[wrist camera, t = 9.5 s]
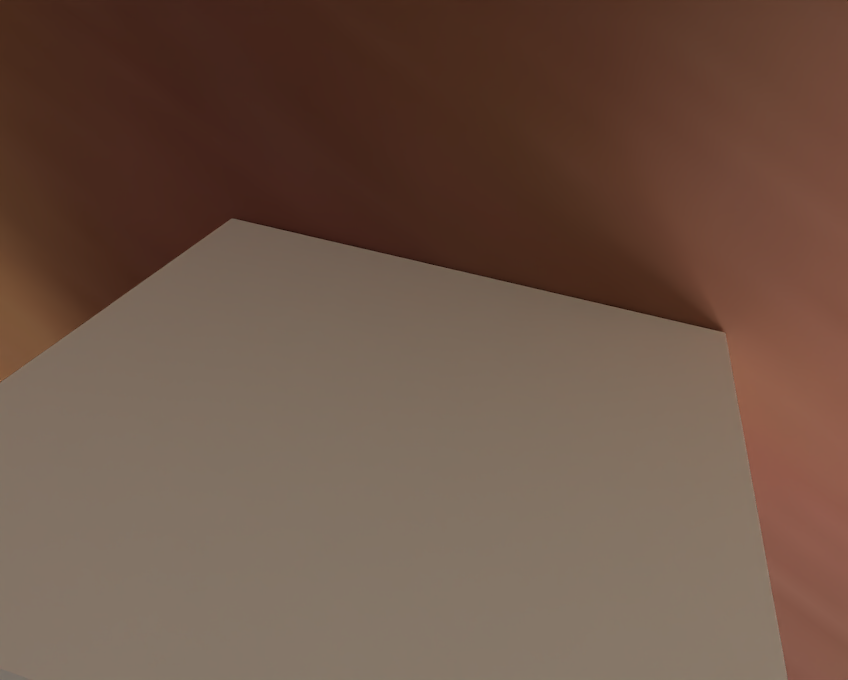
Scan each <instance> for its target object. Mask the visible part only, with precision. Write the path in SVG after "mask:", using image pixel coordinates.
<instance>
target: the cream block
mask: <svg viewBox="0 0 848 680" xmlns="http://www.w3.org/2000/svg"><path fill="white" fill-rule="evenodd" d="M0 680H788V678H787V672H786V667H785V661H784V655H783V650H782V644H781V639H780V633H779V628H778V622H777V617H776V611H775V605H774V600H773V594H772V589H771V583H770V578H769V572H768V567H767V561H766V555H765V550H764V544H763V539H762V533H761V528H760V522H759V517H758V511H757V506H756V500H755V494H754V489H753V483H752V478H751V472H750V467H749V461H748V456H747V450H746V444H745V439H744V433H743V428H742V422H741V417H740V411H739V406H738V400H737V394H736V389H735V383H734V378H733V372H732V367H731V361H730V356H729V350H728V345H727V339H726V333H724V332H720V331H716V330H712V329H707V328H703V327H699V326H694V325H690V324H686V323H681V322H677V321H673V320H668V319H664V318H660V317H656V316H651V315H647V314H643V313H638V312H634V311H630V310H625V309H621V308H617V307H612V306H608V305H604V304H600V303H595V302H591V301H587V300H582V299H578V298H574V297H569V296H565V295H561V294H556V293H552V292H548V291H544V290H539V289H535V288H531V287H526V286H522V285H518V284H513V283H509V282H505V281H500V280H496V279H492V278H488V277H483V276H479V275H475V274H470V273H466V272H462V271H457V270H453V269H449V268H444V267H440V266H436V265H431V264H427V263H423V262H419V261H414V260H410V259H406V258H401V257H397V256H393V255H388V254H384V253H380V252H375V251H371V250H367V249H363V248H358V247H354V246H350V245H345V244H341V243H337V242H332V241H328V240H324V239H319V238H315V237H311V236H307V235H302V234H298V233H294V232H289V231H285V230H281V229H276V228H272V227H268V226H263V225H259V224H255V223H251V222H246V221H242V220H238V219H233V218H231V219H230V220H229V221H227V222H226V223H224V224H223V225H222V226H220V227H219V228H217V229H216V230H215V231H213V232H212V233H210V234H209V235H207V236H206V237H205V238H203V239H202V240H200V241H199V242H198V243H196V244H195V245H193V246H192V247H191V248H189V249H188V250H186V251H185V252H184V253H182V254H181V255H179V256H178V257H176V258H175V259H174V260H172V261H171V262H169V263H168V264H167V265H165V266H164V267H162V268H161V269H160V270H158V271H157V272H155V273H154V274H152V275H151V276H150V277H148V278H147V279H145V280H144V281H143V282H141V283H140V284H138V285H137V286H136V287H134V288H133V289H131V290H130V291H128V292H127V293H126V294H124V295H123V296H121V297H120V298H119V299H117V300H116V301H114V302H113V303H112V304H110V305H109V306H107V307H106V308H105V309H103V310H102V311H100V312H99V313H97V314H96V315H95V316H93V317H92V318H90V319H89V320H88V321H86V322H85V323H83V324H82V325H81V326H79V327H78V328H76V329H75V330H73V331H72V332H71V333H69V334H68V335H66V336H65V337H64V338H62V339H61V340H59V341H58V342H57V343H55V344H54V345H52V346H51V347H50V348H48V349H47V350H45V351H44V352H42V353H41V354H40V355H38V356H37V357H35V358H34V359H33V360H31V361H30V362H28V363H27V364H26V365H24V366H23V367H21V368H20V369H18V370H17V371H16V372H14V373H13V374H11V375H10V376H9V377H7V378H6V379H4V380H3V381H2V382H0Z"/></svg>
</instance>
